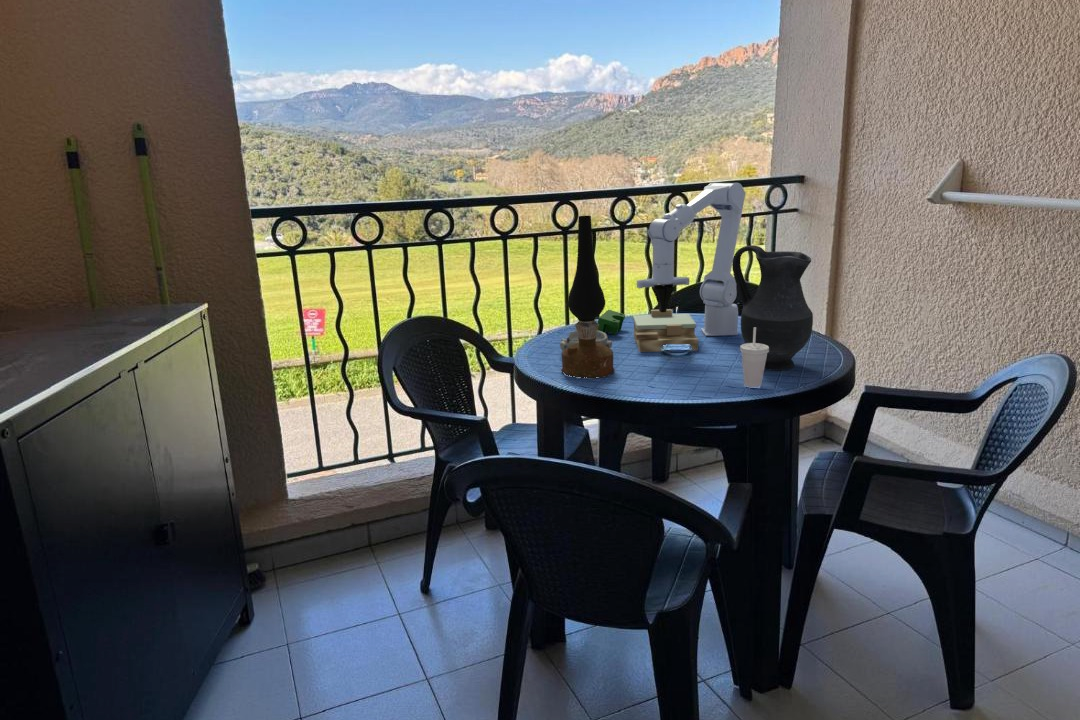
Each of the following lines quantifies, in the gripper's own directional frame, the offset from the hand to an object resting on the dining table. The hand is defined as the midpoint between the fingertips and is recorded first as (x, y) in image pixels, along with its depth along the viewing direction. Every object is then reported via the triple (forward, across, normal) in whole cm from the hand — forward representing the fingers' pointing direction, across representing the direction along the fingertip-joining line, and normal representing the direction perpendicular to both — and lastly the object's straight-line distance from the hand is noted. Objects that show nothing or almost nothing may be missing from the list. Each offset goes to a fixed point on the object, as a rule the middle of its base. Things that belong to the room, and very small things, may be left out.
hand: (662, 311), depth 189 cm
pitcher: (+11, +20, -22) cm, 32 cm away
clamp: (+11, -10, +21) cm, 25 cm away
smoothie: (+10, +10, -38) cm, 40 cm away
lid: (+7, +2, +6) cm, 9 cm away
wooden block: (+7, -5, -2) cm, 9 cm away
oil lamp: (+10, -25, -16) cm, 32 cm away
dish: (+11, -22, +2) cm, 24 cm away
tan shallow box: (+10, +2, +4) cm, 11 cm away
